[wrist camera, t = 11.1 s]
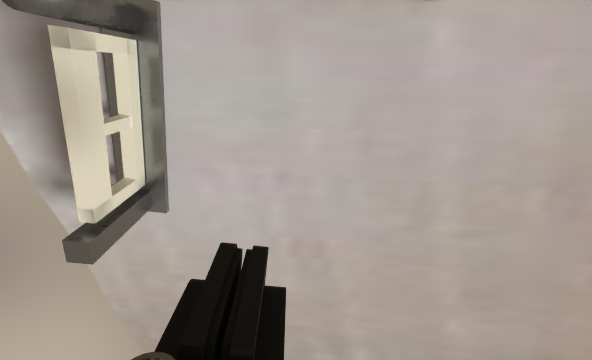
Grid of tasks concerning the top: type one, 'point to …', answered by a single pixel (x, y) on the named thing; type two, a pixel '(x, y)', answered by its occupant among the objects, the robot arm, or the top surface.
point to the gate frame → (147, 32)
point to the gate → (98, 117)
